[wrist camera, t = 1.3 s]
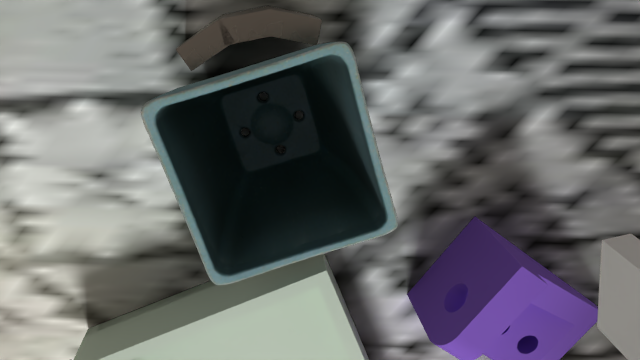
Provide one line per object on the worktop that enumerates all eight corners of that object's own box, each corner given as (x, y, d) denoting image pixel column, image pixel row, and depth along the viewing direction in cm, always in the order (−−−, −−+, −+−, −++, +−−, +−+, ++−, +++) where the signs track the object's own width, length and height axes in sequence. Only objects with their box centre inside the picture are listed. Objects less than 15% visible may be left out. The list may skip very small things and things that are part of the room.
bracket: (405, 291, 36) (438, 357, 30) (472, 214, 35) (522, 266, 29) (526, 368, 40) (578, 442, 33) (591, 301, 38) (659, 364, 32)
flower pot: (167, 70, 29) (134, 105, 21) (322, 22, 29) (350, 37, 21) (223, 211, 32) (213, 290, 24) (362, 166, 33) (401, 230, 24)
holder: (347, 206, 33) (359, 234, 30) (236, 230, 33) (234, 261, 29) (309, -3, 29) (318, -1, 25) (180, 22, 28) (170, 28, 25)
